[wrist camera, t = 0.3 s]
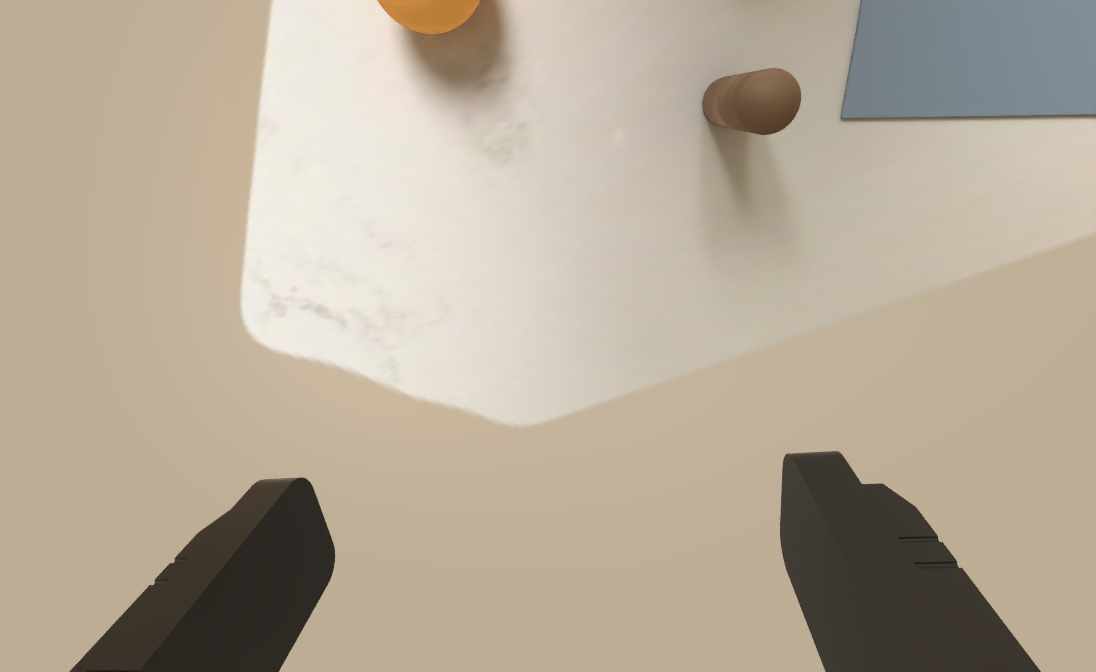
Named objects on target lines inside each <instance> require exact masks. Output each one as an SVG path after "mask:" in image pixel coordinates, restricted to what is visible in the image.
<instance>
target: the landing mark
mask: <svg viewBox="0 0 1096 672" xmlns="http://www.w3.org/2000/svg"><path fill="white" fill-rule="evenodd" d="M1083 114H1096V0H862V1H861V6H860V12H859V18H858V23H857V29H856V34H855V40H854V46H853V51H852V57H851V63H850V68H849V74H848V80H847V85H846V91H845V96H844V102H843V108H842V113H841V118H877V117H946V116H1015V115H1083Z"/></svg>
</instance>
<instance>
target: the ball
mask: <svg viewBox="0 0 1096 672" xmlns="http://www.w3.org/2000/svg"><path fill="white" fill-rule="evenodd" d="M377 1H378V2H379V4H380V5H381V6H382V8H383V9H384V10H385V11H386V12H387V13H388V15H390V16H391V17H392V18H393V19H394V20H395V21H397V22H398V23H400V24H401V25H403V26H404V27H406V28H408V29H410V30H413V31H416V32H420V33H425V34H440V33H445V32H448V31H451V30H453V29H455V28H457V27H458V26H460V25H462V24H463V23H464V22H465V21H466V20H468V18H469V17H470V16H471V15H472V14H473V12H474V11H475V9H476V8H477V6H478V4H479V2H480V0H377Z"/></svg>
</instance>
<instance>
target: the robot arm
mask: <svg viewBox="0 0 1096 672" xmlns="http://www.w3.org/2000/svg"><path fill="white" fill-rule="evenodd" d="M780 539H781V548H782V554H783V558H784V562H785V566H786V570H787V573H788V575H789V578H790V580H791V583H792V586H793V588H794V591H795V594H796V596H797V599H798V601H799V604H800V607H801V609H802V612H803V614H804V617H805V620H806V622H807V625H808V627H809V630H810V632H811V635H812V638H813V640H814V643H815V645H816V648H817V651H818V653H819V656H820V658H821V661H822V664H823V666H824V669H825V671H826V672H1040V670H1039V669H1038V667H1037V666H1036V665H1035V664H1034V662H1033V661H1032V660H1031V658H1030V657H1029V656H1028V654H1027V653H1026V652H1025V650H1024V649H1023V648H1022V646H1021V645H1020V644H1019V642H1018V641H1017V640H1016V638H1015V637H1014V636H1013V635H1012V633H1011V632H1010V630H1009V629H1008V628H1007V627H1006V625H1005V624H1004V623H1003V621H1002V620H1001V619H1000V617H999V616H998V615H997V613H996V612H995V611H994V609H993V608H992V607H991V605H990V604H989V603H988V602H987V600H986V599H985V598H984V596H983V595H982V594H981V592H980V591H979V590H978V588H977V587H976V586H975V584H974V583H973V582H972V580H971V579H970V578H969V576H968V575H967V574H966V573H965V571H964V570H963V569H962V568H959V567H958V565H957V561H956V559H955V558H954V557H953V555H952V554H951V553H950V551H949V550H948V549H947V548H946V546H945V545H944V543H943V542H939V540H938V536H937V534H936V533H935V532H934V530H933V529H932V528H931V526H930V525H929V524H928V522H927V521H926V520H925V519H924V517H923V516H922V514H921V513H920V512H919V511H918V509H917V508H916V507H915V506H914V505H912V504H911V503H909V502H908V501H907V500H905V499H904V498H902V497H901V496H899V495H898V494H897V493H895V492H894V491H892V490H891V489H889V488H888V487H887V486H885V485H884V484H861V482H860V481H859V479H858V478H857V476H856V475H855V473H854V472H853V470H852V469H851V467H850V466H849V464H848V463H847V461H846V460H845V458H844V457H843V455H842V454H841V453H840V452H837V451H832V452H812V453H793V454H786V455H785V457H784V460H783V472H782V494H781V519H780ZM334 563H335V549H334V545H333V541H332V538H331V536H330V533H329V530H328V527H327V524H326V522H325V519H324V516H323V513H322V511H321V508H320V505H319V503H318V500H317V497H316V494H315V491H314V489H313V487H312V485H311V483H310V482H309V481H308V480H307V479H305V478H284V479H265V480H260V481H258V482H256V483H255V484H254V485H252V487H251V488H250V489H249V490H248V491H247V492H246V493H245V494H244V495H243V497H242V498H241V499H240V500H239V501H238V502H237V503H236V504H235V505H234V507H233V508H232V509H231V510H230V511H228V512H227V513H225V514H224V515H222V516H221V517H220V518H218V519H217V520H215V521H214V522H213V523H211V524H210V525H208V526H207V527H206V528H204V529H203V530H201V531H200V532H199V533H198V534H197V535H196V536H195V537H194V538H193V539H192V540H191V541H190V542H189V544H187V545H186V547H185V548H184V549H183V550H182V551H181V552H180V553H179V554H178V555H177V556H176V557H175V562H174V563H170V564H169V565H168V566H167V567H166V568H165V569H164V570H163V571H162V573H160V575H159V576H158V577H157V578H156V579H155V584H154V585H149V587H148V588H147V589H146V590H145V591H144V592H143V593H142V594H141V595H140V596H139V597H138V598H137V600H136V601H135V602H134V603H133V604H132V605H131V606H130V607H129V608H128V609H127V610H126V611H125V612H124V613H123V615H122V616H121V617H120V618H119V619H118V620H117V621H116V622H115V623H114V624H113V625H112V626H111V627H110V629H109V630H108V631H107V632H106V633H105V634H104V635H103V636H102V637H101V638H100V639H99V640H98V642H97V643H96V644H95V645H94V646H93V647H92V648H91V649H90V650H89V651H88V652H87V653H86V654H85V656H84V657H83V658H82V659H81V660H80V661H79V662H78V663H77V664H76V665H75V667H73V668H72V670H71V671H70V672H279V670H280V668H281V666H282V665H283V663H284V661H285V659H286V658H287V656H288V654H289V652H290V651H291V649H292V647H293V645H294V644H295V642H296V640H297V638H298V636H299V634H300V633H301V631H302V629H303V627H304V626H305V624H306V622H307V620H308V619H309V617H310V615H311V613H312V611H313V610H314V608H315V606H316V604H317V603H318V601H319V599H320V597H321V596H322V594H323V592H324V590H325V588H326V586H327V585H328V583H329V581H330V579H331V576H332V573H333V569H334Z"/></svg>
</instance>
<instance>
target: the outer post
mask: <svg viewBox="0 0 1096 672" xmlns="http://www.w3.org/2000/svg"><path fill="white" fill-rule="evenodd" d="M800 102H801V91H800V87H799V84H798V82H797V81H796V79H795V78H794V77H793V76H792V75H791V74H790V73H789V72H787V71H785V70H782V69H777V68H771V69H765V70H759V71H754V72H749V73H744V74H738V75H733V76H728V77H723V78H720V79H718V80H716V81H714V82H713V83H712V84H711V85H710V86H709V87H708V89H707V90H706V92H705V94H704V97H703V102H702V107H703V112H704V114H705V116H706V118H707V119H708V120H709V121H710V122H711V123H713V124H715V125H718V126H723V127H727V128H732V129H737V130H741V131H746V132H750V133H755V134H760V135H769V134H773V133H776V132H778V131H781V130H782V129H784V128H785V127H786V126H788V125H789V124H790V123H791V121H792V120H793V119H794V117H795V116H796V114H797V112H798V110H799V107H800Z"/></svg>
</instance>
